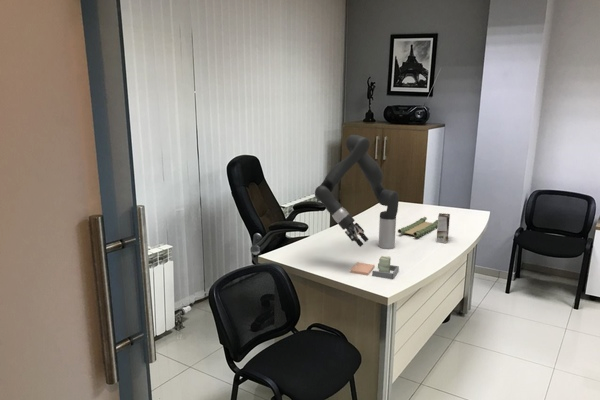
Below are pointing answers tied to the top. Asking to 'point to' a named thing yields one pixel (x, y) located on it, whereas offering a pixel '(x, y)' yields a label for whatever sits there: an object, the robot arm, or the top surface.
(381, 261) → the sage block
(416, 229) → the stretcher
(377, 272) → the charcoal channel
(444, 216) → the coffee box
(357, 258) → the top surface
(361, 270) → the terracotta tile
